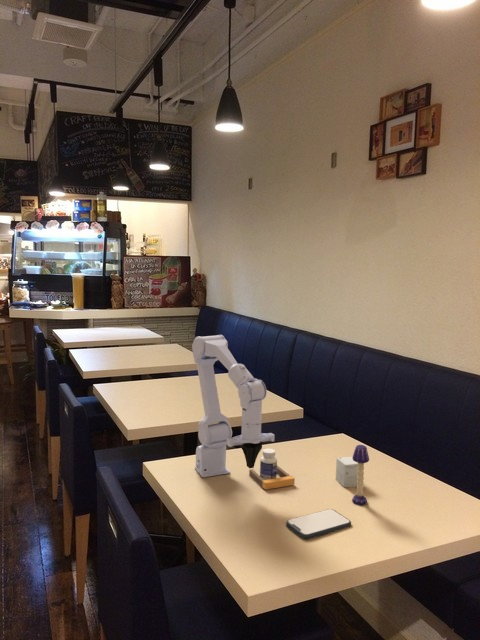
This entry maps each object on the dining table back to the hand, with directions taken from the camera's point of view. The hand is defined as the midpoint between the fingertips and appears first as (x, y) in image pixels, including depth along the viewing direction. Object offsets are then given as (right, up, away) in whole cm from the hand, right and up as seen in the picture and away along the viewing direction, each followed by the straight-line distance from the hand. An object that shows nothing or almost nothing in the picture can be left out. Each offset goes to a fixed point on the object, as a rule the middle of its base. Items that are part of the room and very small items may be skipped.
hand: (250, 466), depth 151 cm
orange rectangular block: (+9, -8, +6) cm, 13 cm away
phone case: (+18, -11, -17) cm, 27 cm away
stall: (+6, -7, +11) cm, 15 cm away
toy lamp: (+31, -9, -3) cm, 33 cm away
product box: (+31, -8, +10) cm, 33 cm away
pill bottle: (+6, -7, +12) cm, 15 cm away
